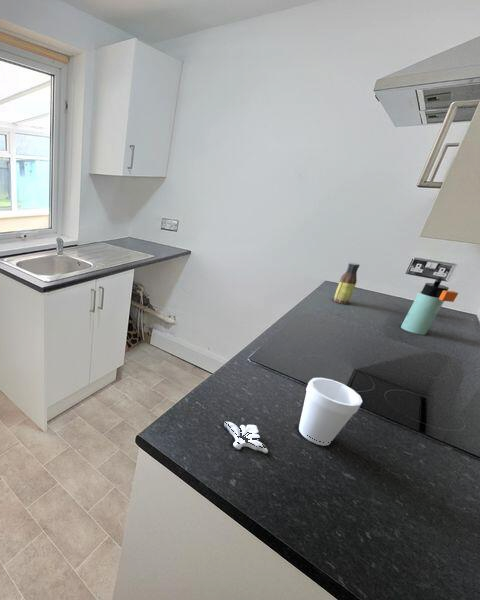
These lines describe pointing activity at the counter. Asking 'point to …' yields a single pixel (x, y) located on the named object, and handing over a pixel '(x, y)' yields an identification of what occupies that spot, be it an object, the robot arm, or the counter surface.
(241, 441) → the acanthus leaf ornament
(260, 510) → the counter surface
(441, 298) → the nozzle button
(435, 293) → the sports bottle
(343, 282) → the sauce bottle
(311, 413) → the foam cup
